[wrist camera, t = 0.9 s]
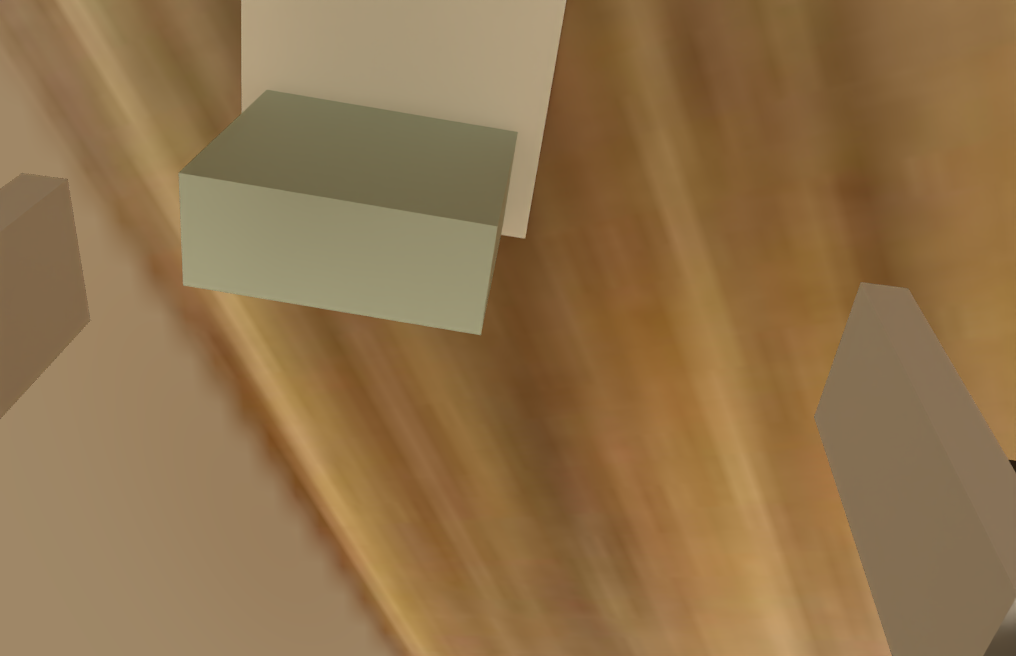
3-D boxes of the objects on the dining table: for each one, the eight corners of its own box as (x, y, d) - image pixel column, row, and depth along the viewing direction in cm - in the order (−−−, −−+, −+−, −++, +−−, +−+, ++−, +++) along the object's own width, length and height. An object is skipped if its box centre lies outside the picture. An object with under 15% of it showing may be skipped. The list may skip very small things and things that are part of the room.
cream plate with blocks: (250, -292, 31) (118, -320, 22) (606, -231, 31) (611, -236, 22) (249, 182, 39) (153, 293, 31) (526, 228, 40) (508, 352, 31)
